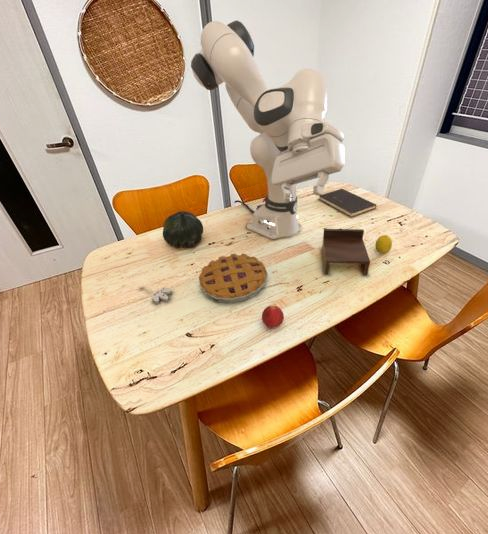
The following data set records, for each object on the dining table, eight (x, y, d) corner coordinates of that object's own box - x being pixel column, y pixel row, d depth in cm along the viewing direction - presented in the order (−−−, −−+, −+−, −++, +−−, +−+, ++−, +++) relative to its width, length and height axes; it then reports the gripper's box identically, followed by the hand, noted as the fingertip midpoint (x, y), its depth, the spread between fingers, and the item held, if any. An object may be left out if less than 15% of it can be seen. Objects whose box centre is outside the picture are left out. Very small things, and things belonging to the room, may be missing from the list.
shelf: (321, 249, 105) (323, 228, 99) (359, 250, 104) (363, 229, 99) (324, 274, 93) (327, 252, 88) (366, 275, 92) (372, 253, 87)
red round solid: (268, 337, 73) (267, 316, 68) (259, 322, 77) (257, 302, 72) (287, 329, 75) (287, 308, 70) (277, 315, 79) (277, 294, 74)
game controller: (165, 305, 83) (163, 299, 82) (131, 301, 85) (128, 295, 83) (174, 292, 88) (172, 286, 86) (141, 288, 89) (139, 282, 88)
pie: (194, 272, 95) (191, 261, 92) (254, 256, 102) (253, 245, 99) (209, 316, 80) (206, 303, 77) (278, 293, 86) (278, 281, 83)
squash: (165, 221, 113) (156, 206, 99) (202, 218, 116) (199, 203, 102) (168, 255, 111) (160, 244, 96) (206, 250, 114) (204, 239, 100)
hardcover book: (351, 217, 124) (351, 213, 123) (318, 199, 140) (318, 195, 138) (375, 208, 131) (376, 204, 129) (342, 192, 146) (342, 188, 145)
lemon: (389, 259, 99) (395, 240, 94) (373, 257, 100) (378, 238, 95) (388, 250, 104) (393, 231, 99) (372, 248, 105) (377, 230, 100)
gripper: (268, 149, 72) (263, 201, 71) (333, 119, 57) (328, 185, 56) (285, 158, 76) (281, 207, 75) (350, 132, 61) (346, 193, 60)
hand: (302, 198), depth 65 cm, fingers open, 8 cm apart
